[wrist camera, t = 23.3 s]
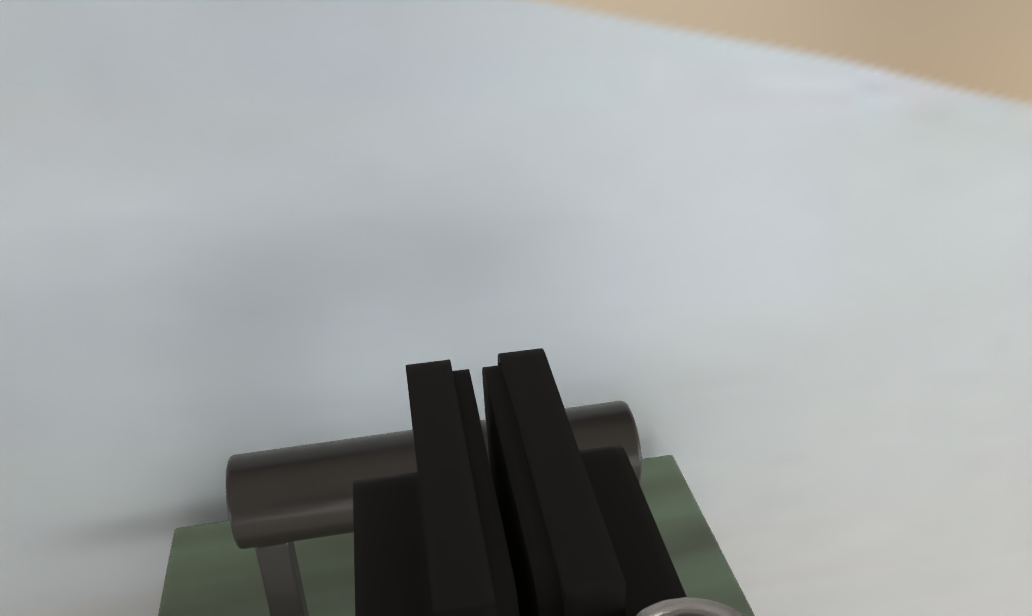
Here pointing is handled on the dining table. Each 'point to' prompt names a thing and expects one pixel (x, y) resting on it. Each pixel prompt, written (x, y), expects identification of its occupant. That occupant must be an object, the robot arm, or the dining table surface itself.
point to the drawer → (330, 528)
